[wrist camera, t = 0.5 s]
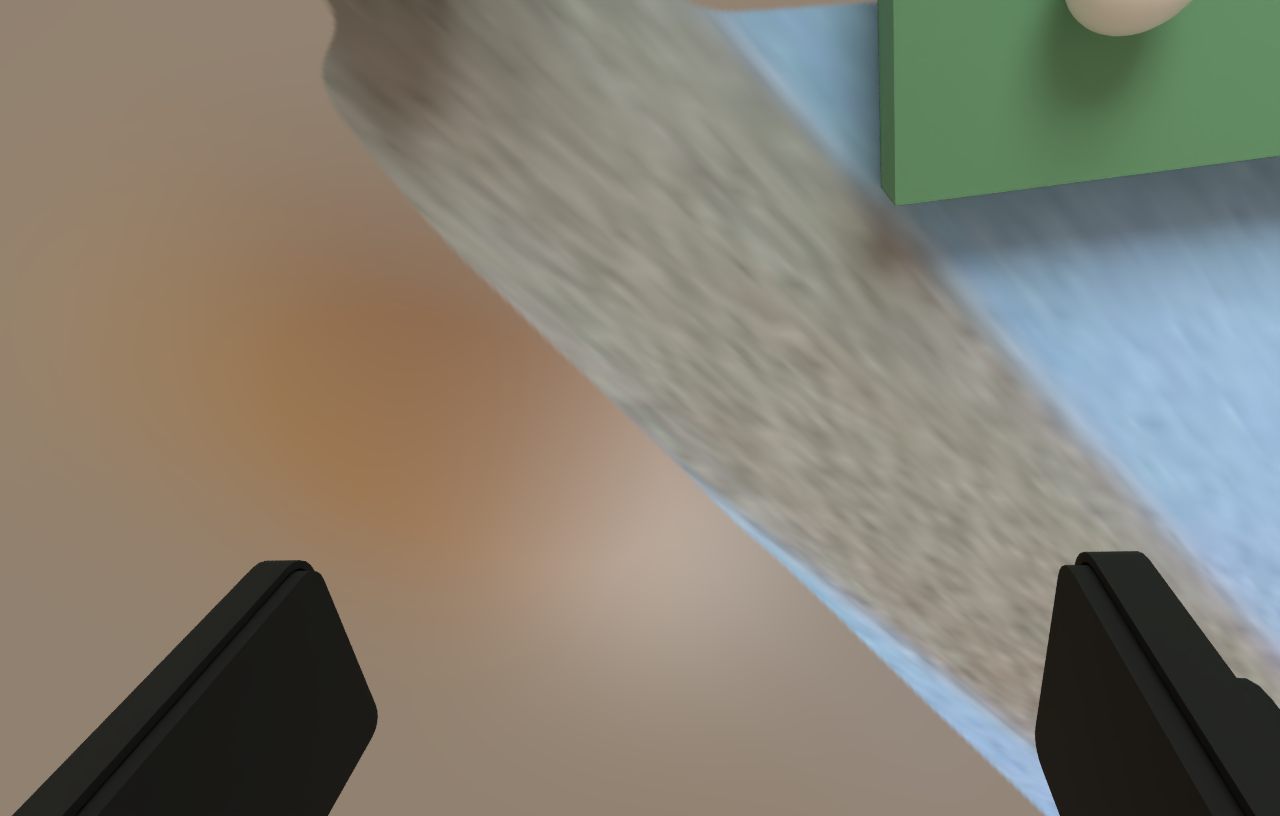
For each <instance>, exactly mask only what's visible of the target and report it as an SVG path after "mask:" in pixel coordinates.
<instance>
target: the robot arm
mask: <svg viewBox="0 0 1280 816" xmlns="http://www.w3.org/2000/svg"><path fill="white" fill-rule="evenodd" d="M377 718H378V715H377V708H376V705H375V702H374V700H373V697H372V695H371V692H370V690H369V688H368V685H367V683H366V680H365V678H364V675H363V673H362V671H361V668H360V666H359V664H358V661H357V659H356V656H355V654H354V651H353V649H352V646H351V644H350V642H349V639H348V637H347V634H346V632H345V630H344V627H343V625H342V622H341V620H340V617H339V615H338V613H337V610H336V608H335V605H334V603H333V600H332V598H331V596H330V593H329V591H328V588H327V586H326V583H325V581H324V579H323V577H322V575H321V574H320V573H318V572H316V571H314V569H313V568H312V566H311V565H310V564H309V563H307V562H306V561H300V560H293V561H291V560H290V561H289V560H288V561H264V562H260V563H258V564H257V565H256V566H254V567H253V568H252V569H251V570H250V571H249V572H248V573H247V574H246V575H245V576H244V577H243V578H242V579H241V580H240V582H238V584H237V585H236V586H235V587H234V588H233V589H232V590H231V591H230V592H229V593H228V594H227V595H226V596H225V597H224V598H223V599H222V600H221V601H220V602H219V603H218V604H217V605H216V606H215V607H214V608H213V609H212V610H211V611H210V612H209V613H208V614H207V615H206V616H205V618H204V619H203V620H202V621H201V622H200V623H199V624H198V625H197V626H196V627H195V628H194V629H193V630H192V631H191V632H190V633H189V634H188V635H187V636H186V637H185V638H184V639H183V640H182V641H181V642H180V643H179V644H178V645H177V646H176V647H175V648H174V649H173V650H172V652H171V653H170V654H169V655H168V656H167V657H166V658H165V659H164V660H163V661H162V662H161V663H160V664H159V665H158V666H157V667H156V668H155V669H154V670H153V671H152V672H151V673H150V674H149V675H148V676H147V677H146V678H145V679H144V680H143V682H141V683H140V684H139V685H138V686H137V688H136V689H135V690H134V691H133V692H132V693H131V694H130V695H129V696H128V697H127V698H126V699H125V700H124V701H123V702H122V703H121V704H120V705H119V706H118V707H117V708H116V709H115V710H114V711H113V712H112V713H111V714H110V715H109V716H108V717H107V718H106V719H105V721H104V722H103V723H102V724H101V725H100V726H99V727H98V728H97V729H96V730H95V731H94V732H93V733H92V734H91V735H90V736H89V737H88V738H87V739H86V740H85V741H84V742H83V743H82V744H81V745H80V746H79V747H78V748H77V749H76V750H75V751H74V752H73V754H71V756H70V757H69V758H68V759H67V760H66V761H65V762H64V763H63V764H62V765H61V766H60V767H59V768H58V769H57V770H56V771H55V772H54V773H53V774H52V775H51V776H50V777H49V778H48V779H47V780H46V781H45V782H44V783H43V784H42V785H41V786H40V787H39V788H38V790H37V791H36V792H35V793H34V794H33V795H32V796H31V797H30V798H29V799H28V800H27V801H26V802H25V803H24V804H23V805H22V806H21V807H20V808H19V809H18V810H17V811H16V812H15V813H14V814H13V815H12V816H328V815H329V813H330V811H331V809H332V807H333V806H334V804H335V802H336V800H337V798H338V797H339V795H340V793H341V791H342V790H343V788H344V786H345V784H346V782H347V781H348V779H349V777H350V776H351V774H352V772H353V770H354V768H355V767H356V765H357V763H358V761H359V759H360V758H361V756H362V754H363V752H364V751H365V749H366V747H367V745H368V744H369V742H370V740H371V738H372V736H373V734H374V732H375V729H376V725H377ZM1035 741H1036V748H1037V753H1038V758H1039V761H1040V764H1041V767H1042V770H1043V772H1044V775H1045V778H1046V780H1047V783H1048V786H1049V788H1050V791H1051V793H1052V796H1053V799H1054V801H1055V804H1056V807H1057V809H1058V812H1059V815H1060V816H1280V709H1279V708H1278V707H1277V705H1276V704H1275V703H1274V701H1273V700H1272V699H1271V698H1270V697H1269V696H1268V695H1267V694H1266V693H1265V692H1264V691H1263V689H1262V688H1261V687H1260V686H1258V685H1257V684H1255V683H1253V682H1252V681H1250V680H1248V679H1246V678H1236V676H1235V675H1234V674H1233V672H1232V671H1231V670H1230V668H1229V667H1228V666H1227V664H1226V663H1225V662H1224V660H1223V659H1222V657H1221V656H1220V655H1219V653H1218V652H1217V651H1216V649H1215V648H1214V647H1213V645H1212V644H1211V643H1210V641H1209V640H1208V639H1207V637H1206V636H1205V634H1204V633H1203V632H1202V630H1201V629H1200V628H1199V626H1198V625H1197V624H1196V622H1195V621H1194V620H1193V618H1192V617H1191V615H1190V614H1189V613H1188V611H1187V610H1186V609H1185V607H1184V606H1183V605H1182V603H1181V602H1180V601H1179V599H1178V598H1177V597H1176V595H1175V594H1174V592H1173V591H1172V590H1171V588H1170V587H1169V586H1168V584H1167V583H1166V582H1165V580H1164V579H1163V578H1162V576H1161V575H1160V573H1159V572H1158V571H1157V569H1156V568H1155V567H1154V565H1153V564H1152V563H1151V561H1150V560H1149V559H1148V558H1147V557H1146V556H1145V555H1144V554H1143V553H1140V552H1138V551H1122V552H1083V553H1080V554H1079V556H1078V557H1077V559H1076V562H1075V565H1064V566H1062V567H1061V569H1060V571H1059V575H1058V580H1057V587H1056V594H1055V600H1054V607H1053V614H1052V621H1051V627H1050V634H1049V641H1048V647H1047V654H1046V661H1045V667H1044V674H1043V681H1042V687H1041V694H1040V701H1039V707H1038V714H1037V721H1036V728H1035Z"/></svg>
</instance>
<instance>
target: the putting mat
mask: <svg viewBox="0 0 1280 816" xmlns="http://www.w3.org/2000/svg"><path fill="white" fill-rule="evenodd" d="M878 40H879V95H880V151H881V188H882V189H883V190H884V192H885V193H886V194H887V196H888V197H889V198H890V200H891V201H892V202H893V204H894V205H895V206H899V205H907V204H915V203H922V202H930V201H938V200H945V199H953V198H961V197H968V196H976V195H983V194H991V193H999V192H1006V191H1014V190H1022V189H1029V188H1037V187H1045V186H1052V185H1060V184H1068V183H1075V182H1083V181H1091V180H1098V179H1106V178H1114V177H1121V176H1129V175H1137V174H1144V173H1152V172H1160V171H1167V170H1175V169H1183V168H1190V167H1198V166H1206V165H1213V164H1221V163H1228V162H1236V161H1244V160H1251V159H1259V158H1267V157H1274V156H1280V0H1191V2H1190V3H1189V4H1188V5H1187V6H1185V7H1184V8H1183V9H1182V10H1181V11H1180V12H1179V13H1177V14H1176V15H1175V16H1174V17H1172V18H1171V19H1169V20H1168V21H1166V22H1164V23H1163V24H1161V25H1159V26H1157V27H1155V28H1152V29H1150V30H1148V31H1145V32H1142V33H1138V34H1134V35H1128V36H1108V35H1102V34H1098V33H1095V32H1092V31H1091V30H1089V29H1087V28H1085V27H1084V26H1083V25H1081V24H1080V23H1079V22H1078V21H1077V20H1076V19H1075V18H1074V17H1073V15H1072V14H1071V12H1070V11H1069V9H1068V6H1067V4H1066V1H1065V0H878Z"/></svg>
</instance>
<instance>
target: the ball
mask: <svg viewBox="0 0 1280 816" xmlns="http://www.w3.org/2000/svg"><path fill="white" fill-rule="evenodd" d="M1065 1H1066V4H1067V6H1068V9H1069V11H1070V12H1071V14H1072V15H1073V17H1074V18H1075V19H1076V20H1077V21H1078V22H1079V23H1080V24H1081V25H1083V26H1084V27H1085V28H1087V29H1089V30H1091V31H1092V32H1095V33H1098V34H1102V35H1108V36H1128V35H1134V34H1138V33H1142V32H1145V31H1148V30H1150V29H1152V28H1155V27H1157V26H1159V25H1161V24H1163V23H1164V22H1166V21H1168V20H1169V19H1171V18H1172V17H1174V16H1175V15H1176V14H1177V13H1179V12H1180V11H1181V10H1182V9H1183V8H1184V7H1185V6H1187V5H1188V4H1189V3H1190V2H1191V0H1065Z"/></svg>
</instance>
